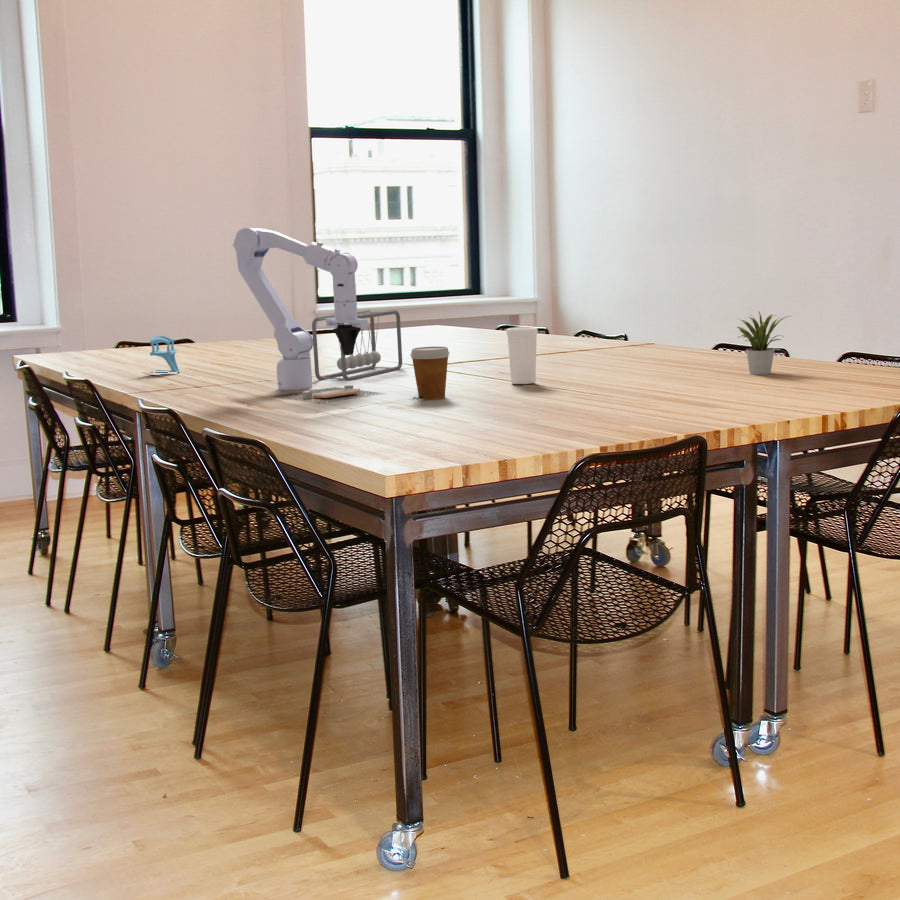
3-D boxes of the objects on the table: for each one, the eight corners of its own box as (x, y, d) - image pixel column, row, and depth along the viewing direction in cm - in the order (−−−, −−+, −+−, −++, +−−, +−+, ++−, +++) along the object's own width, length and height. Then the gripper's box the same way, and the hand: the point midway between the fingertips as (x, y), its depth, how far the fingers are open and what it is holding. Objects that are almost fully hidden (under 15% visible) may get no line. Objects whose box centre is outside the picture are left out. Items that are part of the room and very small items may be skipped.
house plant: (787, 369, 292) (788, 306, 289) (798, 375, 279) (799, 310, 276) (732, 370, 294) (732, 308, 291) (740, 377, 280) (741, 312, 277)
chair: (175, 375, 341) (172, 336, 338) (148, 376, 341) (145, 337, 339) (181, 372, 348) (178, 334, 346) (155, 373, 348) (152, 335, 346)
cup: (537, 385, 281) (535, 329, 278) (505, 386, 283) (503, 330, 280) (541, 381, 289) (539, 326, 286) (510, 381, 291) (508, 327, 288)
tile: (312, 393, 269) (326, 393, 264) (345, 388, 275) (360, 388, 271) (312, 397, 269) (326, 397, 264) (346, 392, 275) (360, 392, 271)
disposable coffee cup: (417, 401, 262) (415, 351, 260) (408, 397, 271) (405, 348, 269) (456, 398, 264) (454, 348, 262) (445, 394, 273) (443, 345, 271)
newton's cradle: (345, 382, 306) (341, 317, 303) (314, 381, 311) (310, 317, 308) (403, 369, 331) (400, 309, 328) (374, 368, 336) (371, 309, 333)
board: (269, 400, 275) (268, 390, 274) (335, 390, 288) (334, 380, 287) (319, 408, 258) (318, 397, 258) (387, 397, 271) (386, 387, 271)
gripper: (315, 302, 284) (318, 355, 287) (351, 302, 274) (354, 357, 276) (336, 300, 289) (339, 352, 291) (372, 300, 279) (375, 354, 281)
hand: (348, 354), depth 284 cm, fingers closed
